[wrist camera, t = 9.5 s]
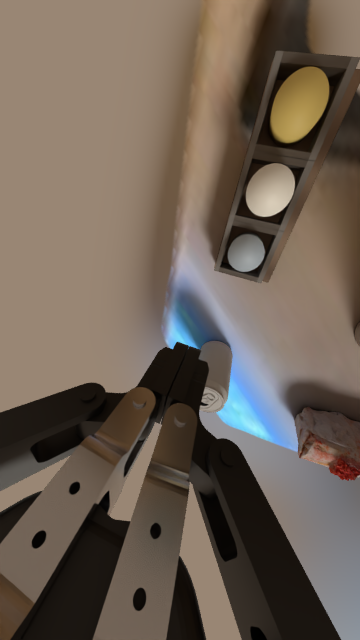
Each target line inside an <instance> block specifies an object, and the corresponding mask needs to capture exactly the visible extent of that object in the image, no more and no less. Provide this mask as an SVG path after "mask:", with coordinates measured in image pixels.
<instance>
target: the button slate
mask: <svg viewBox="0 0 360 640" xmlns="http://www.w3.org/2000/svg"><path fill="white" fill-rule="evenodd" d="M264 254H265V250H264V246H263V242H262V240H261V238H260V237H259V236H258V235H257V234H255V233H251V232H246V233H242V234H240V235H238V236H237V237H236V238H235V239H234V240H233V242H232V244H231V246H230V248H229V250H228V260H229V263H230V265H231V266H232V267H233V268H234V269H236V270H238V271H242V272H247V271H251V270H253V269H255V268H257V267H258V266H259V265H260V264H261V262H262V260H263V258H264Z"/></svg>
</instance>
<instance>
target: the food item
mask: <svg viewBox="0 0 360 640" xmlns="http://www.w3.org/2000/svg"><path fill="white" fill-rule="evenodd" d="M295 426H296V433H297V437H298V443H299V444H298V455H299V458H301V459H307V460H308V461H312V462H315V463H318V464H321V465H324V466H327V467H329V469H330V472H331V473H333V474H334V475H338V476H339V477H340V479H342V480H343V479H345V480H349V479H351V480H355V479H356V477H358V478H360V422H357V421H353V420H350V419H348V418H346V417H345V416H344V415H343V414H341V413H339V412H330V413H329V412H326V411H316V410H312V409H311V408H309V407H307V408H304V409H303V411H302V413H300V414H297V416H296V419H295Z"/></svg>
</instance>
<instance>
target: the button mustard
mask: <svg viewBox="0 0 360 640" xmlns="http://www.w3.org/2000/svg"><path fill="white" fill-rule="evenodd" d="M328 97H329V82H328V79H327V77H326V75H325V73H324V72H323V71H322V70H321V69H319V68H317V67H304V68H302V69H299V70H297V71H296V72H294V73H293V74H292V75H290V76H289V77H288V78H287V79H286V80H285V82H284V83H283V84H282V86H281V87H280V89H279V90H278V92H277V94H276V97H275V99H274V103H273V107H272V111H271V116H270V120H269V132H270V136H271V138H272V140H273V141H274V142H275V143H276V144H277V145H279V146H284V147H287V146H291V145H294V144H296V143H298V142H299V141H301V140H302V139H303V138H304V137H305V136H306V135H307V134H308V133H309V131H310V130H311V129H312V128H313V126H314V125H315V124H316V123H317V121H318V120H319V119H320V117H321V116H322V114H323V112H324V110H325V107H326V105H327V102H328Z"/></svg>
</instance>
